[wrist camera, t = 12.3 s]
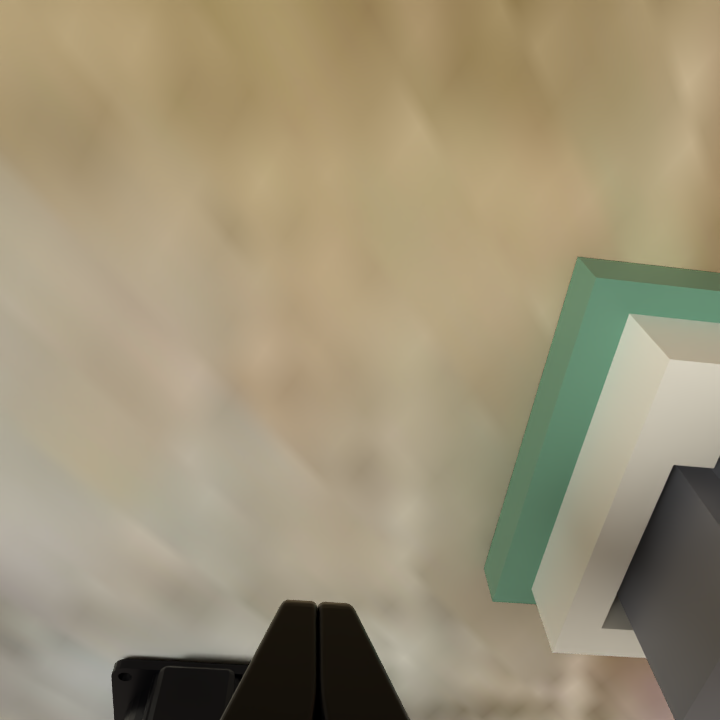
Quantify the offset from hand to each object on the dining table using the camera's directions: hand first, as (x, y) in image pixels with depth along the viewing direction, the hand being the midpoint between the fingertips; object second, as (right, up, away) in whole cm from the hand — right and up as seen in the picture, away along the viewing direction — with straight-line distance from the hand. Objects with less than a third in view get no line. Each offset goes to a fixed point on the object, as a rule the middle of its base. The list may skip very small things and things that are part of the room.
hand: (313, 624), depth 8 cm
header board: (+11, 0, +14) cm, 18 cm away
